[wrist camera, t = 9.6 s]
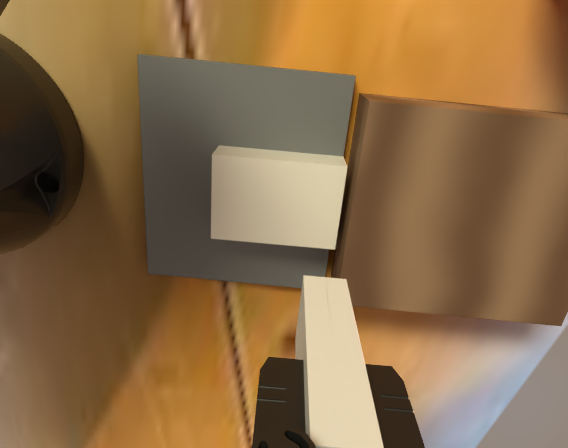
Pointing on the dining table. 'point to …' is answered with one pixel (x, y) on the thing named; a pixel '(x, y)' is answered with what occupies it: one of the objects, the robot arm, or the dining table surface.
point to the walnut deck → (456, 210)
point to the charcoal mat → (237, 133)
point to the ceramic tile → (276, 196)
